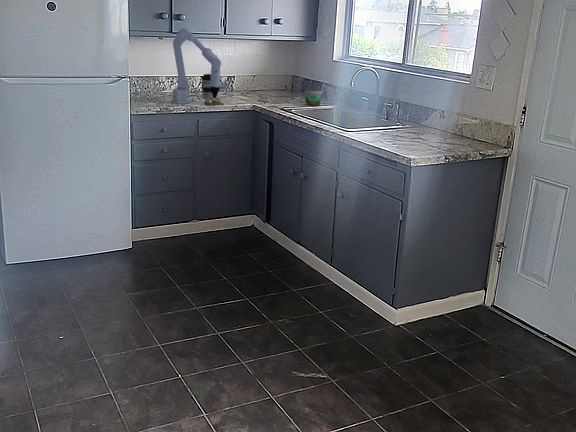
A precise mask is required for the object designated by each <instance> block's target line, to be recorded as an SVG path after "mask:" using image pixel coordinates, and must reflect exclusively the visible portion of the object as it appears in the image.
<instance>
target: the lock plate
mask: <svg viewBox="0 0 576 432" xmlns="http://www.w3.org/2000/svg"><path fill="white" fill-rule="evenodd" d="M203 104H204V106H208V107H209V106H210V107H211V106H213V107H214V106H215V107H216V106H224V105H225V103H224V102H221V101H220V102H212V101H211V102H210V99H207V98H204V103H203Z"/></svg>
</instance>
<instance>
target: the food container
mask: <svg viewBox="0 0 576 432" xmlns="http://www.w3.org/2000/svg"><path fill="white" fill-rule="evenodd" d="M304 93H305V97H304V98H305V106H307V105H308V106H309V107H320V104H321V100H322V95H323V90H310V89H309V90H308V89H305V90H304ZM304 93H303V94H304Z"/></svg>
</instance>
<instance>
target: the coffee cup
mask: <svg viewBox="0 0 576 432" xmlns="http://www.w3.org/2000/svg"><path fill="white" fill-rule="evenodd" d="M200 79H201V92H202V98H203V99H207V100H210V99H211V100H212V98H213V95H212V92H211V90H210V89H211V88H209V87H203V84H211V73H205V74H203V75H201V78H200Z"/></svg>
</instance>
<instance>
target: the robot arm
mask: <svg viewBox="0 0 576 432" xmlns="http://www.w3.org/2000/svg"><path fill="white" fill-rule="evenodd" d="M185 41H188V42H192V43H193V44H194V45H195V46H196V47H197V48H198V49H199V50H200V51H201V55H202V56H203V58H204V59H205V60H206V61H208V63H210V65H211V69H210V74H211V84H203V87H209V88H211V89H210V90H211V92H212V95H213V98H218V94H219V91H220V89H223V90H227V89H228V85H225V84H224V85H223V84H221V65H222V62H221V59H219V57H218V55H216V54H215V53H214V52H213V50H212V49H211V48H210V47H205V45H203V43H202V42H201V41H200V40H199V38H197V37H196V35H194V34H193V33H192V32H191V31H189V30H188V29H187V28H185V27H181V28H180V29H179V30H177V32H176V34H175V36H174V39H173V40H172V47H173V52H174V53H173V54H174V59H175V65H176V70H177V81H176V82H177V85H176V88H174V89H173V88H172V97H171V98H172V99H171V102H172V103H175V104H178V105H179V104H181V105H182V104H191V103H192V102H191V101H189V98H190V97H189V95H190V94H189V92H190V91H189V90H190V88H189V80H188V78H187V76H186V69H185V64H184V57H183V51H182V45H183V44H184V42H185Z"/></svg>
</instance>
